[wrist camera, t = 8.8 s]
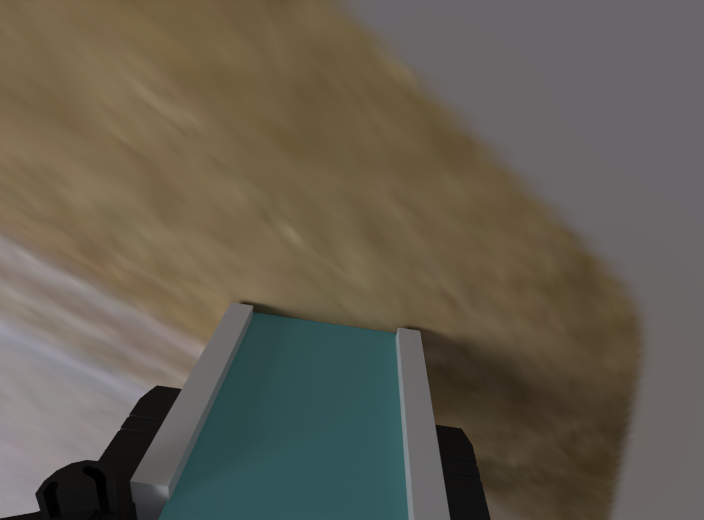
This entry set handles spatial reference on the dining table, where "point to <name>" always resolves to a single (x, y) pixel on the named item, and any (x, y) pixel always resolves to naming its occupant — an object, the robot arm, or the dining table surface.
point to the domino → (300, 430)
